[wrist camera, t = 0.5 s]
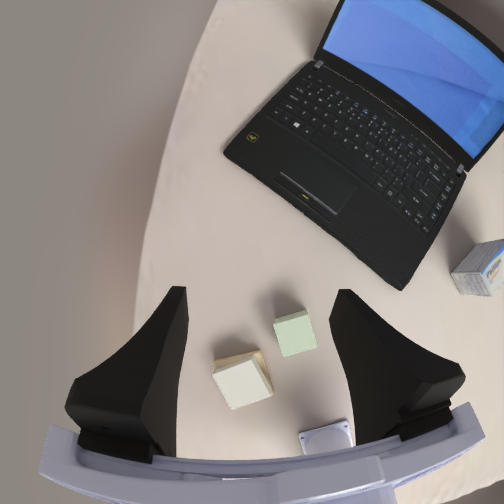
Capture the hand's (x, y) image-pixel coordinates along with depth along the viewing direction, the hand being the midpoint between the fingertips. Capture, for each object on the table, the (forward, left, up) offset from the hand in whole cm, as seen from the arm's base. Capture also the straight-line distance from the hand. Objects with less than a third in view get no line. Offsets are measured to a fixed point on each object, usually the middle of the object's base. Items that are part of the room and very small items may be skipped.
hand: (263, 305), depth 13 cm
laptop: (+17, -22, -26) cm, 39 cm away
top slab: (-12, +9, -24) cm, 28 cm away
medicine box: (-8, -30, -26) cm, 41 cm away
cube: (-7, 0, -26) cm, 27 cm away
